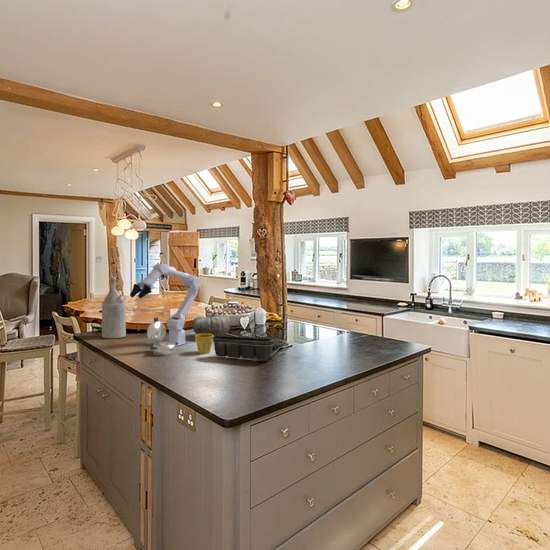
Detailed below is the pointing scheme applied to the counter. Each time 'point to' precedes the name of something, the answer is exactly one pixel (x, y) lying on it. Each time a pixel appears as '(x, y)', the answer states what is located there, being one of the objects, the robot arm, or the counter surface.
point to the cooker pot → (164, 348)
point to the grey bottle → (113, 313)
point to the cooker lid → (156, 331)
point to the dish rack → (246, 345)
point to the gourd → (211, 325)
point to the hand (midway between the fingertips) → (135, 296)
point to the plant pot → (204, 342)
